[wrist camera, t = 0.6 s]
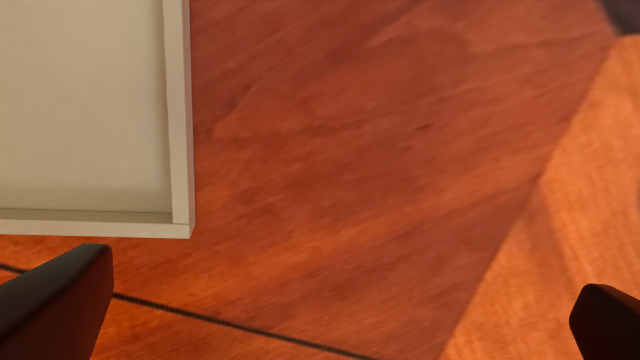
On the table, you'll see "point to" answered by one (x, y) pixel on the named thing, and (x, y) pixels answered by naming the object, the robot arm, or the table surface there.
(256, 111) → the table surface
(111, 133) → the tray
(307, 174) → the table surface
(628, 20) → the table surface
